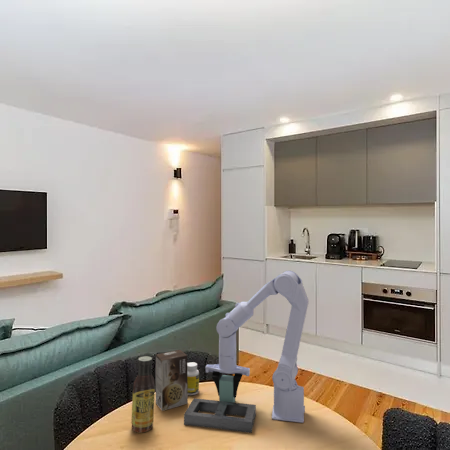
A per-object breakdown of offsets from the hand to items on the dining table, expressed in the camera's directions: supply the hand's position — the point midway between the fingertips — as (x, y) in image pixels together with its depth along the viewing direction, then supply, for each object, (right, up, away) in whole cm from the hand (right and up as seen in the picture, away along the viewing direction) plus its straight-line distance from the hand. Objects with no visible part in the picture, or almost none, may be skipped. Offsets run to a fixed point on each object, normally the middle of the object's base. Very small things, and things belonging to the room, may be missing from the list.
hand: (227, 395), depth 114 cm
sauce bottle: (-24, -3, -14) cm, 28 cm away
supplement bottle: (-13, -3, +8) cm, 15 cm away
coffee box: (-18, -3, 0) cm, 19 cm away
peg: (0, -2, 0) cm, 2 cm away
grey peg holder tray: (-2, -2, -10) cm, 10 cm away
